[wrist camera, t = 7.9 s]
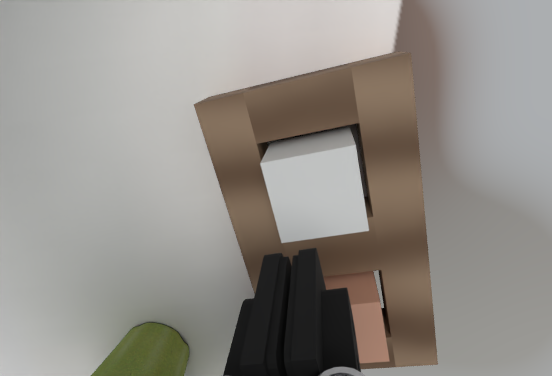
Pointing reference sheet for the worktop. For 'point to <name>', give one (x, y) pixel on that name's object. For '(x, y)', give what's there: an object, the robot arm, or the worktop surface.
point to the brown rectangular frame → (377, 172)
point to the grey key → (315, 186)
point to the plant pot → (147, 353)
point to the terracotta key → (364, 314)
